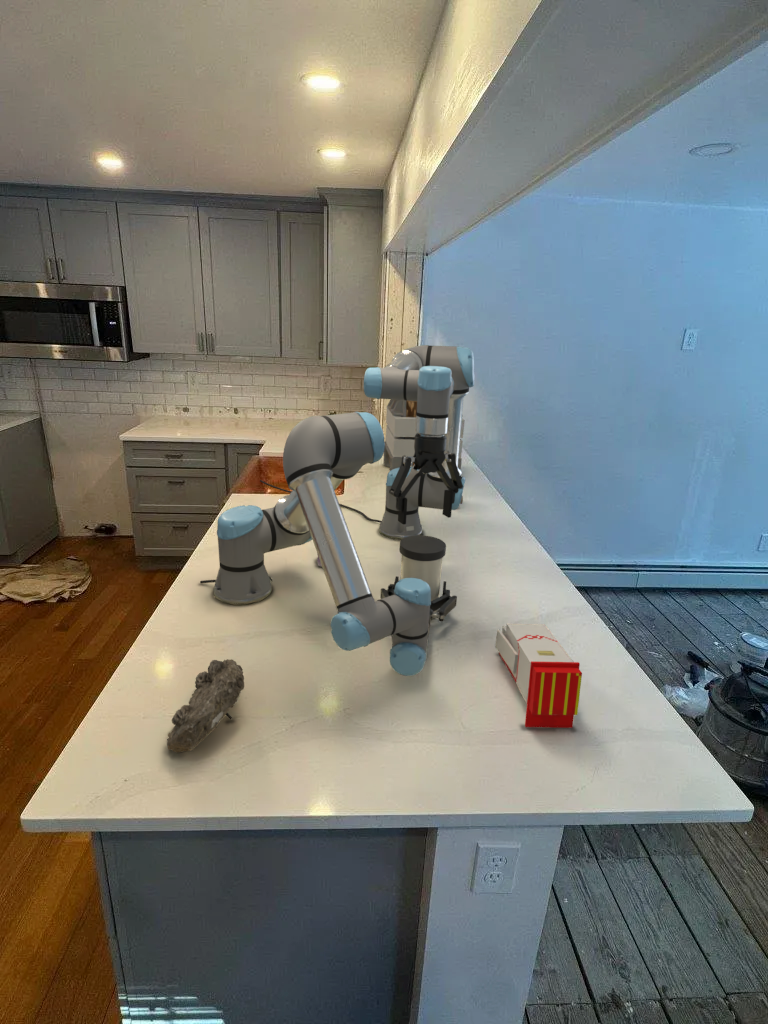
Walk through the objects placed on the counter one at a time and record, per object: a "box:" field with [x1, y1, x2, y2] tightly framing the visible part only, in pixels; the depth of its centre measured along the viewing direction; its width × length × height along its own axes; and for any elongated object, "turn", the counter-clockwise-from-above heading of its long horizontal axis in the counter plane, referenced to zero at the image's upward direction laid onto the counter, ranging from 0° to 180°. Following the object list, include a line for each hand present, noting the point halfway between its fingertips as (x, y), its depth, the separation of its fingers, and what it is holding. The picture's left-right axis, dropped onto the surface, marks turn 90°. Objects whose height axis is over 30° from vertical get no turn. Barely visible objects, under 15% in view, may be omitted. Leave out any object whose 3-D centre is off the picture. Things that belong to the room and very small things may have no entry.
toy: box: [494, 623, 583, 729], centre depth 120 cm, size 12×13×30 cm
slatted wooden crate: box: [383, 399, 465, 472], centre depth 268 cm, size 34×33×41 cm
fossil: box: [166, 658, 245, 754], centre depth 106 cm, size 22×10×15 cm
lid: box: [398, 534, 447, 561], centre depth 144 cm, size 12×12×2 cm
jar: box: [399, 554, 443, 612], centre depth 147 cm, size 10×10×19 cm
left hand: (420, 583), depth 151 cm, fingers open, 12 cm apart
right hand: (424, 519), depth 141 cm, fingers open, 12 cm apart
